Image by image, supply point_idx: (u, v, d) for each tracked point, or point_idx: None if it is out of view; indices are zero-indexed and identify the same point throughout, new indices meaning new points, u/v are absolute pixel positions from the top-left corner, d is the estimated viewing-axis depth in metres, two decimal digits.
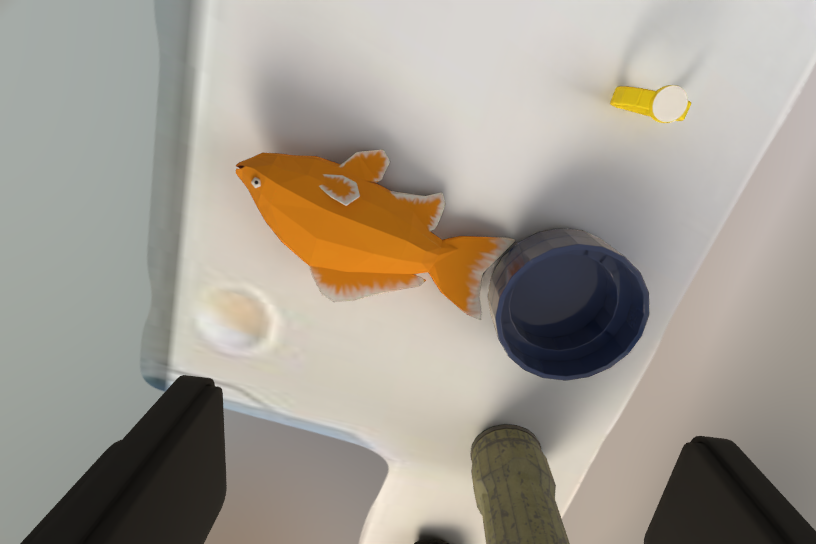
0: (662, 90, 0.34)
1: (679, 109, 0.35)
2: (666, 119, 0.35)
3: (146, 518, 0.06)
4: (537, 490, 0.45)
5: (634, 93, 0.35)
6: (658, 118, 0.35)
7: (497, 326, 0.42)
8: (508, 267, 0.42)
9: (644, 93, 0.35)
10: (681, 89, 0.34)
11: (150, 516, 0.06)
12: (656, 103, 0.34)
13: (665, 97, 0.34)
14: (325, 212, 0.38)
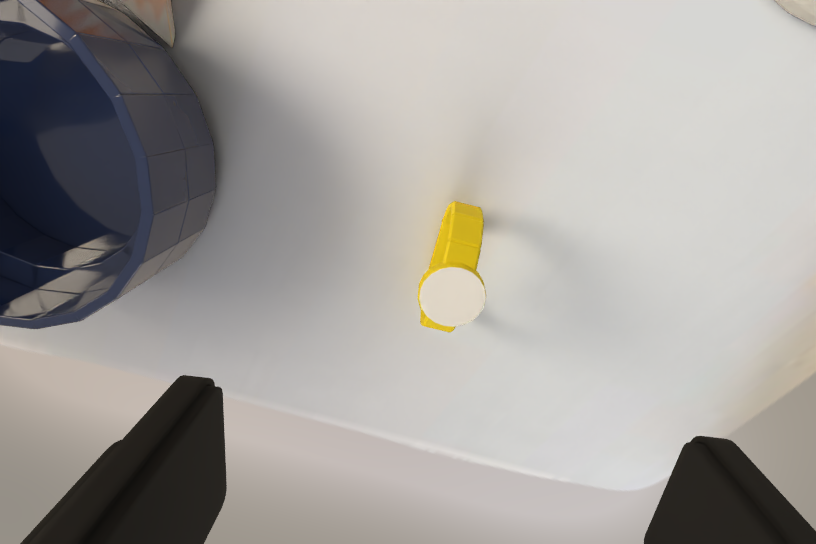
0: (477, 279, 0.18)
1: (442, 315, 0.18)
2: (425, 295, 0.18)
3: (146, 518, 0.06)
4: None
5: (472, 234, 0.18)
6: (426, 282, 0.18)
7: None
8: None
9: (471, 251, 0.18)
10: (477, 312, 0.18)
11: (150, 516, 0.06)
12: (454, 273, 0.18)
13: (465, 286, 0.18)
14: None
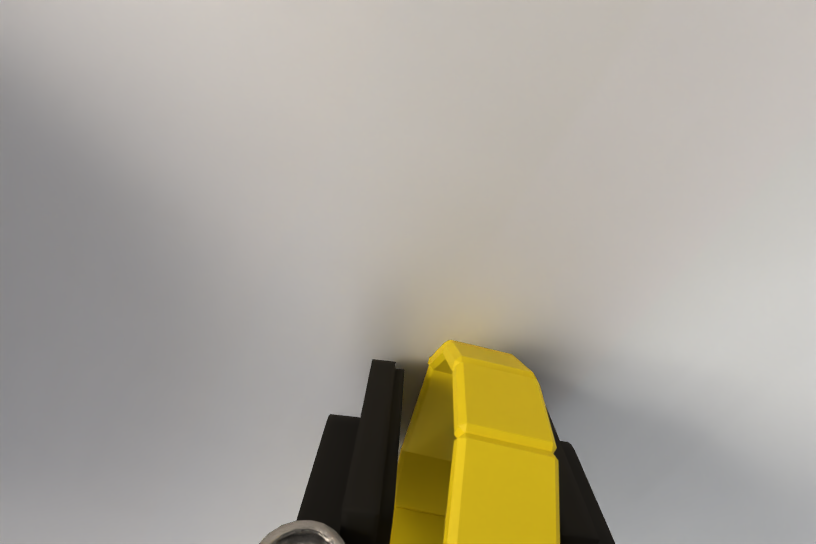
0: None
1: None
2: None
3: None
4: None
5: (528, 517, 0.05)
6: None
7: None
8: None
9: None
10: None
11: None
12: None
13: None
14: None
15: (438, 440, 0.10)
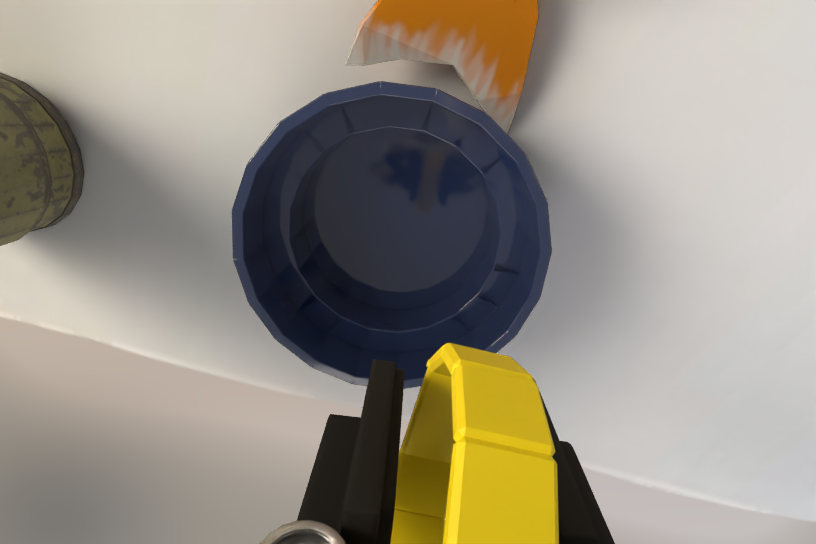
0: None
1: None
2: None
3: None
4: None
5: (526, 520, 0.05)
6: None
7: (358, 88, 0.17)
8: None
9: None
10: None
11: None
12: None
13: None
14: None
15: (436, 442, 0.10)
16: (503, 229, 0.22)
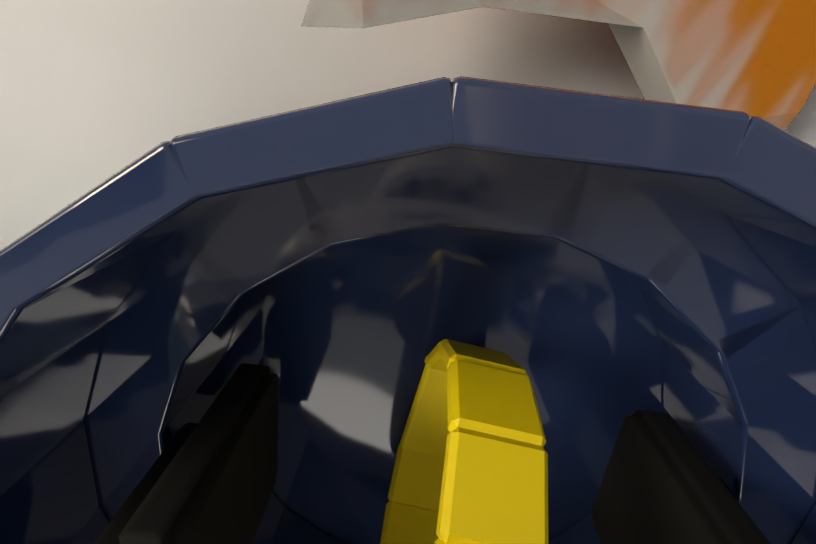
0: None
1: None
2: None
3: (227, 490, 0.07)
4: None
5: (517, 508, 0.06)
6: None
7: (339, 114, 0.03)
8: None
9: None
10: None
11: (229, 488, 0.07)
12: None
13: None
14: None
15: (435, 437, 0.11)
16: (750, 487, 0.08)
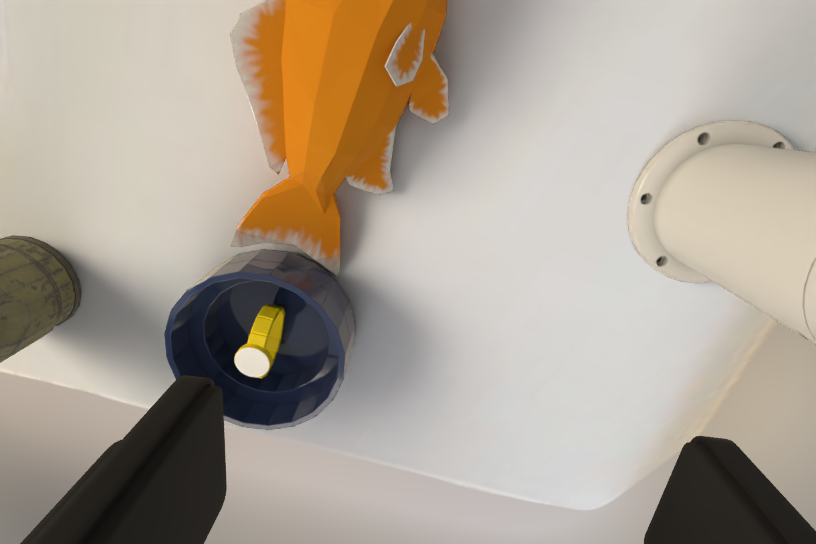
0: (263, 353, 0.34)
1: (248, 371, 0.34)
2: (238, 361, 0.34)
3: (146, 518, 0.06)
4: None
5: (264, 328, 0.34)
6: (237, 354, 0.34)
7: (228, 274, 0.32)
8: (307, 278, 0.34)
9: (262, 338, 0.34)
10: (266, 370, 0.34)
11: (150, 516, 0.06)
12: (250, 350, 0.34)
13: (257, 357, 0.34)
14: (374, 32, 0.26)
15: (274, 331, 0.39)
16: (330, 334, 0.36)
